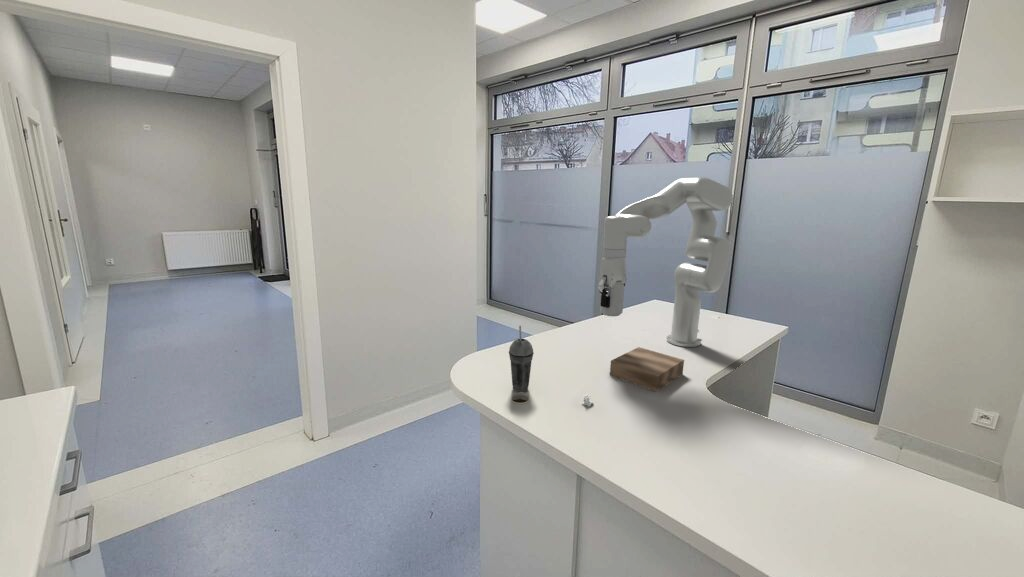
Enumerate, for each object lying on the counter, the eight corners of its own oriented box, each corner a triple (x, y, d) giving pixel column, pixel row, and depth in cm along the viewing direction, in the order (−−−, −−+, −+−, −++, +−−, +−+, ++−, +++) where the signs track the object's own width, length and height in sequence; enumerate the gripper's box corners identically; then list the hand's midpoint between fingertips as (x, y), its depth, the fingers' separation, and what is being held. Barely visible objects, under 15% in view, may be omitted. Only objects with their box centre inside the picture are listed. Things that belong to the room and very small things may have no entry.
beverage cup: (536, 386, 127) (538, 322, 122) (526, 396, 120) (528, 330, 116) (514, 381, 130) (515, 319, 125) (503, 391, 123) (504, 326, 119)
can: (597, 311, 149) (599, 277, 146) (618, 310, 149) (620, 277, 146) (603, 317, 141) (605, 282, 139) (625, 316, 142) (627, 282, 139)
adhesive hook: (586, 402, 118) (587, 392, 118) (594, 406, 117) (595, 395, 116) (580, 406, 116) (581, 396, 116) (588, 409, 114) (588, 399, 114)
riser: (637, 360, 148) (638, 347, 147) (682, 374, 137) (684, 359, 136) (609, 375, 136) (610, 360, 134) (656, 391, 125) (658, 376, 124)
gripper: (618, 249, 149) (615, 298, 153) (590, 255, 137) (587, 307, 141) (637, 251, 144) (634, 301, 148) (610, 257, 132) (607, 311, 136)
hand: (611, 304), depth 145 cm, fingers closed on can, 7 cm apart
